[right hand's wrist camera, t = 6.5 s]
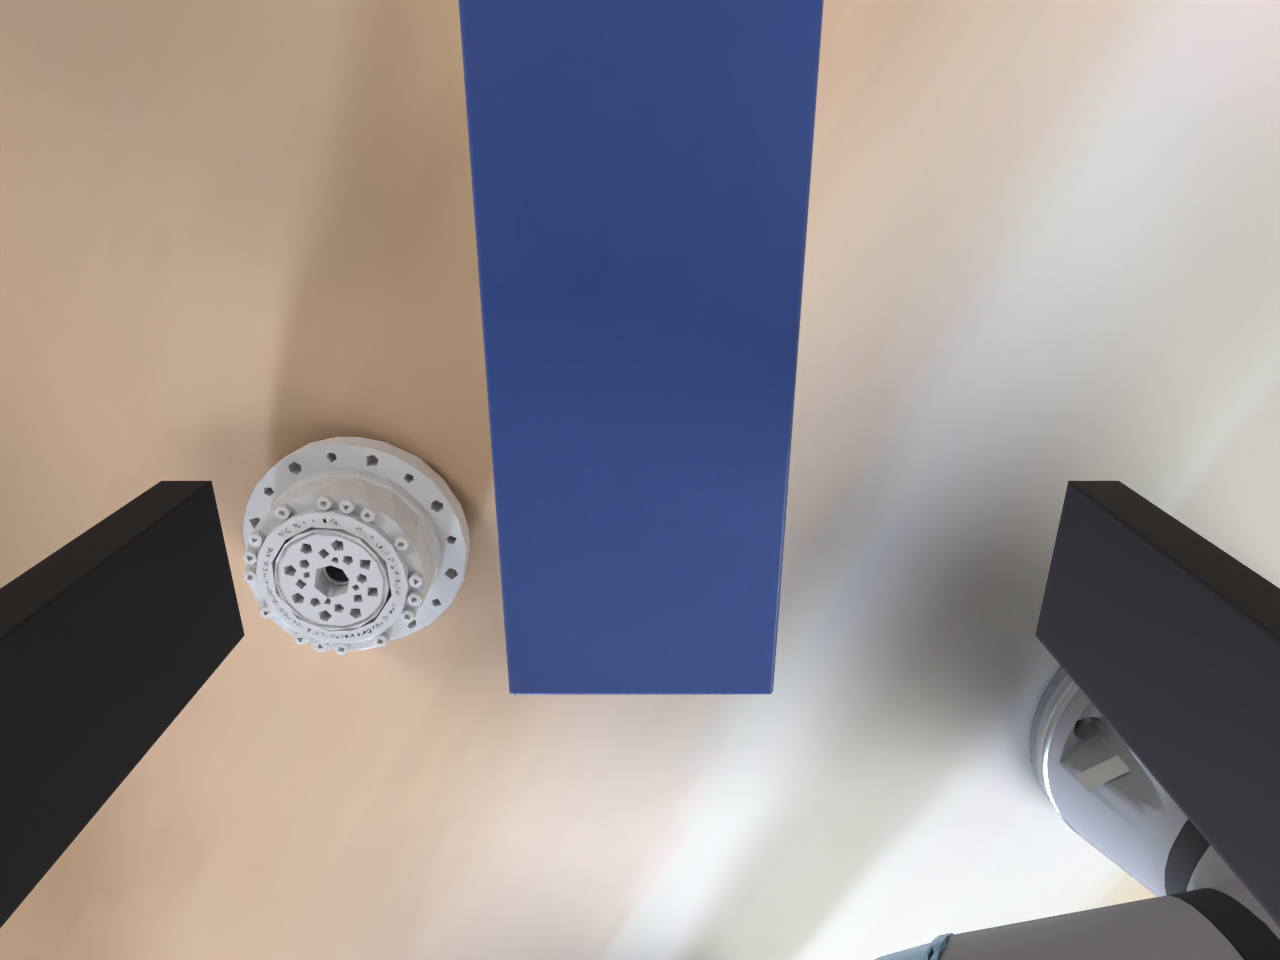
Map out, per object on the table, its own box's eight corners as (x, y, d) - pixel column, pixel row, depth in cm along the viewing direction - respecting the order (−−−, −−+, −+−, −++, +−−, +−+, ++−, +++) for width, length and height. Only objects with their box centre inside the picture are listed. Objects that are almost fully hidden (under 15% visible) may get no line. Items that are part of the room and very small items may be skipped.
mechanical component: (448, 648, 40) (493, 468, 36) (426, 704, 36) (475, 508, 32) (244, 597, 39) (270, 407, 35) (198, 649, 35) (222, 440, 31)
